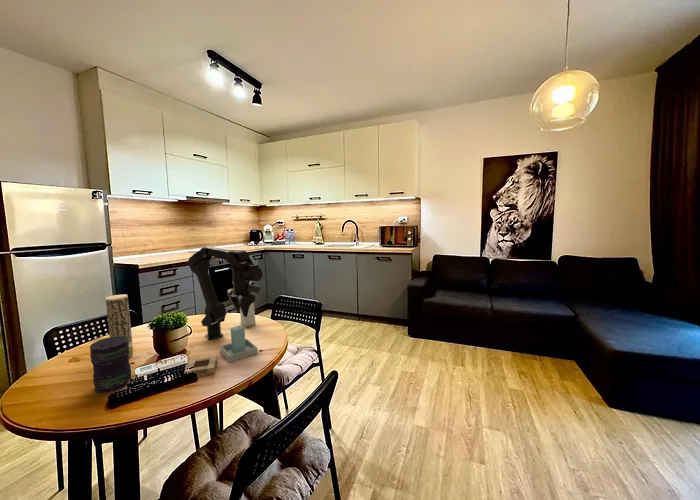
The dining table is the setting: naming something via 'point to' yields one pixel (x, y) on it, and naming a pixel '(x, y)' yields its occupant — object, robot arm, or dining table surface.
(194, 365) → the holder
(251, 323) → the skincare box
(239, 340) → the peg
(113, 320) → the bark covered log
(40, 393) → the dining table surface
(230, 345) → the tray
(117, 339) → the dark grey cylinder
